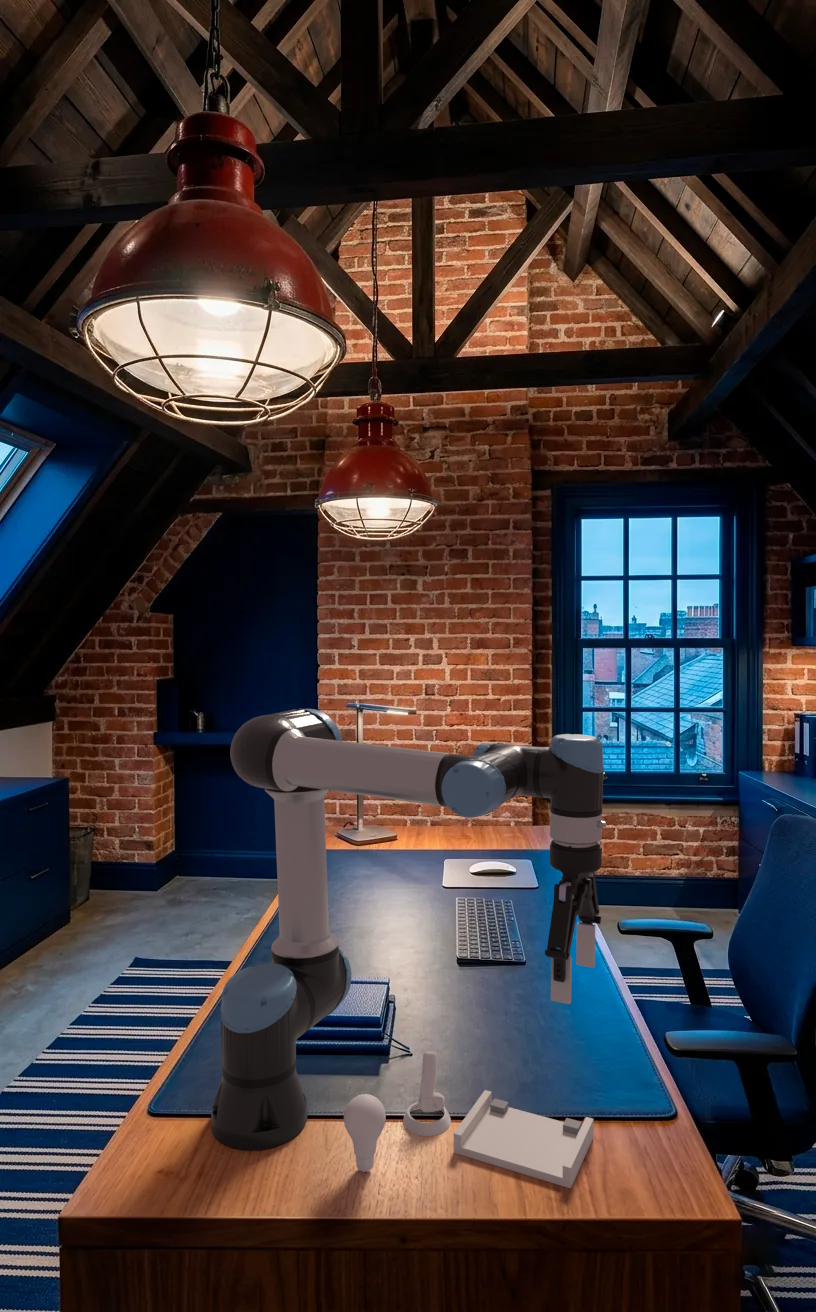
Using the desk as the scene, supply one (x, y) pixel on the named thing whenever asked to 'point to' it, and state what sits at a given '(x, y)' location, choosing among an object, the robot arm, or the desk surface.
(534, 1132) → the panel
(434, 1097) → the hook
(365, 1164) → the lightbulb
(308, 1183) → the desk surface
